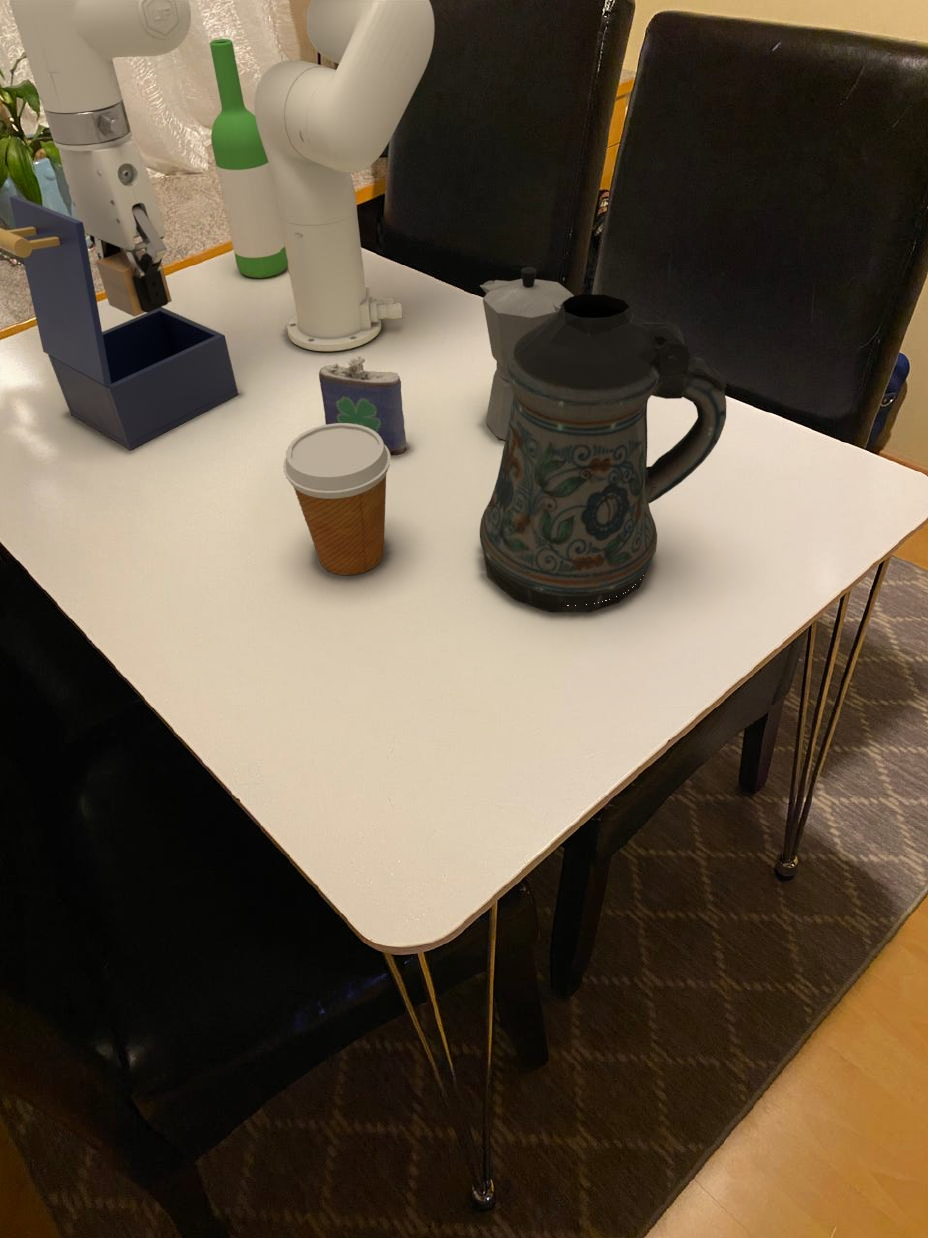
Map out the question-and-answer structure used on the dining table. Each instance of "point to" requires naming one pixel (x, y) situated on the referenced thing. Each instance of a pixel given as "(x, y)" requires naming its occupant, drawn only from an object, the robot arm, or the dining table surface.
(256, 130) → the wine bottle
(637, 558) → the beer stein
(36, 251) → the lid
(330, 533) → the disposable coffee cup
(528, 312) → the coffeepot
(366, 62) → the robot arm
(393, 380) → the flask
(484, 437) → the dining table surface
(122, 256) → the block
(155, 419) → the chest
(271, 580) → the dining table surface
